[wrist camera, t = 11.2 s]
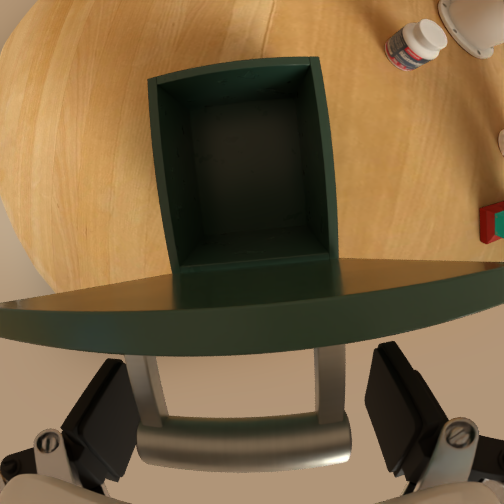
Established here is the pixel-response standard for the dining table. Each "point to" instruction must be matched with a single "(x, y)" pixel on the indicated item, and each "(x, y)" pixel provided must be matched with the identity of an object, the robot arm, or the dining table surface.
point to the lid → (253, 342)
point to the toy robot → (492, 222)
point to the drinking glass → (501, 141)
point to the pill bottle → (415, 44)
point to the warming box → (244, 164)
